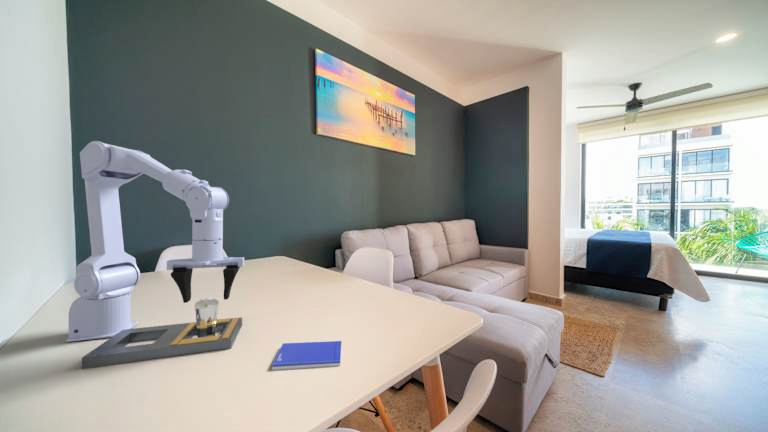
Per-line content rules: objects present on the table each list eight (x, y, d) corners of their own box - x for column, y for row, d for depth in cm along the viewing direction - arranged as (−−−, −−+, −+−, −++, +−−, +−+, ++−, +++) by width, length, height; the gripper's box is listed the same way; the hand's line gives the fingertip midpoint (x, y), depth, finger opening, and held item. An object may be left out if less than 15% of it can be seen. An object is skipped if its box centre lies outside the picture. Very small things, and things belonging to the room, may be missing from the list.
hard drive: (271, 364, 48) (340, 360, 50) (283, 342, 56) (341, 339, 58) (271, 372, 48) (340, 368, 50) (282, 349, 56) (341, 346, 58)
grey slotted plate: (81, 368, 47) (81, 356, 47) (122, 338, 59) (122, 328, 59) (231, 348, 55) (231, 338, 55) (242, 325, 67) (242, 316, 67)
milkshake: (192, 348, 55) (192, 301, 55) (195, 337, 60) (195, 294, 60) (217, 343, 57) (218, 297, 57) (219, 333, 62) (219, 291, 62)
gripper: (159, 242, 53) (159, 309, 53) (240, 240, 57) (239, 302, 57) (175, 238, 59) (174, 298, 59) (246, 237, 64) (245, 292, 64)
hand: (207, 299), depth 59 cm, fingers open, 7 cm apart
